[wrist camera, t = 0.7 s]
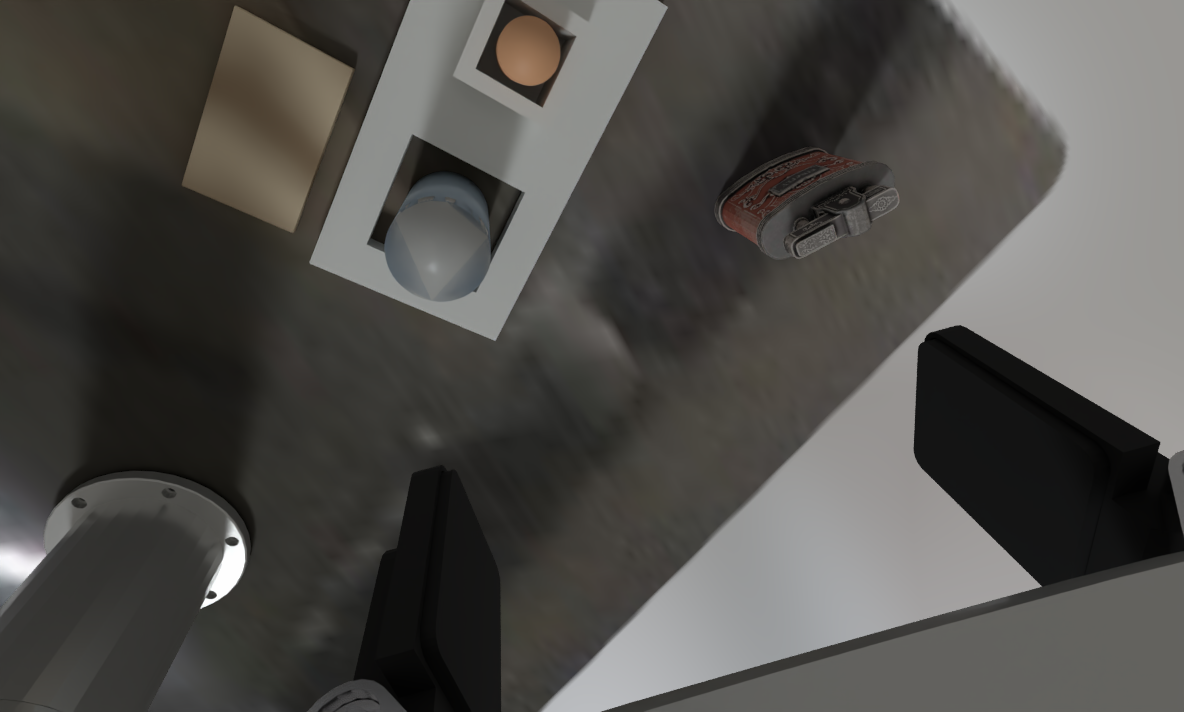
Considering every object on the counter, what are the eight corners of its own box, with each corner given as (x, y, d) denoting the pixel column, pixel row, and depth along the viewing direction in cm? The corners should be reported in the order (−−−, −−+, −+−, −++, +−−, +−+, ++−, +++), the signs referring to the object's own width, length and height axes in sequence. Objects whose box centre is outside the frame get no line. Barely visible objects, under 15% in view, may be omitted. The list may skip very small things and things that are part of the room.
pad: (295, 230, 36) (292, 233, 35) (186, 183, 34) (181, 185, 33) (355, 69, 33) (353, 69, 32) (238, 6, 31) (234, 5, 30)
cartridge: (468, 265, 39) (465, 317, 31) (392, 230, 37) (368, 276, 29) (501, 195, 37) (508, 230, 29) (424, 155, 35) (408, 181, 27)
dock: (494, 331, 41) (497, 371, 35) (315, 256, 37) (287, 288, 31) (660, 9, 34) (693, -2, 29) (463, -128, 30) (460, -170, 25)
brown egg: (534, 93, 32) (542, 97, 28) (486, 65, 31) (487, 64, 27) (559, 41, 31) (571, 38, 27) (510, 10, 30) (514, 1, 26)
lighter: (817, 134, 39) (918, 154, 30) (831, 181, 40) (931, 213, 31) (706, 194, 39) (773, 232, 30) (724, 239, 41) (793, 287, 32)
